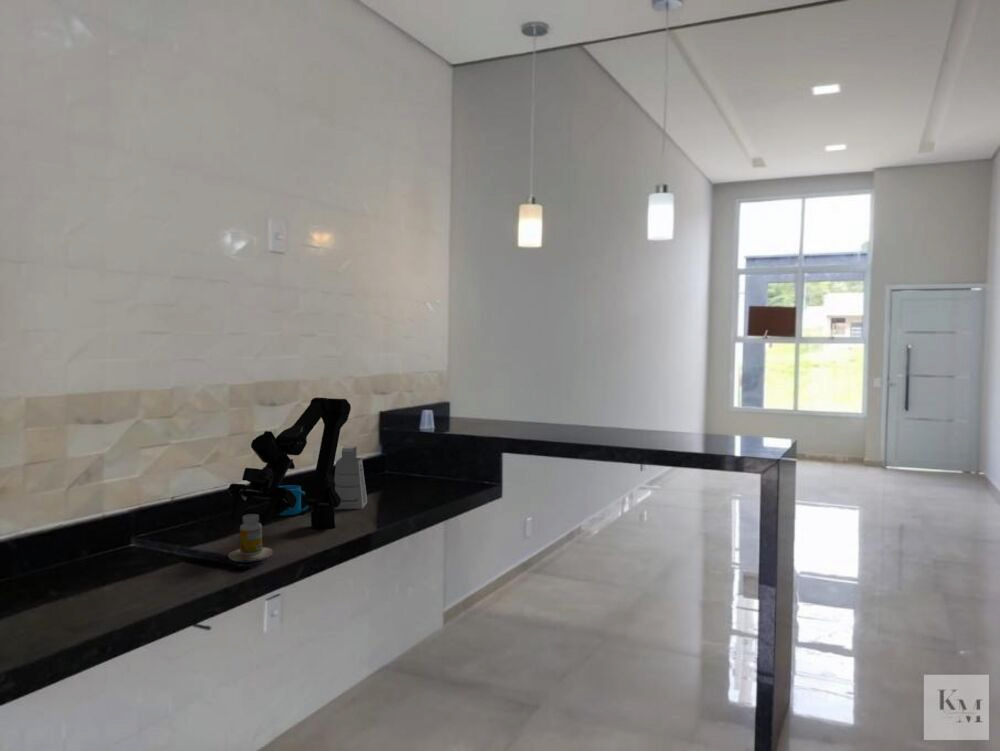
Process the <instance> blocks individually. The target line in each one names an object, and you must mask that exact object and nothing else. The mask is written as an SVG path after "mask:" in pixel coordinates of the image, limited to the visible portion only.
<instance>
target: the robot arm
mask: <svg viewBox="0 0 1000 751" xmlns="http://www.w3.org/2000/svg"><path fill="white" fill-rule="evenodd" d="M351 409H352V407H351V403H350V402H349V400H347V399H346V398H329V397H328V398H327V397H314V398H312V399H310V404H309V405H308V406H307V408H306V409H305V410H304V411H303V413H302V414H301V415H300V416H299V417H298V418H297V420H296V421H295V423H294V424H293V425H291V427H288V428H286V429H284V430H282V431H281V432H280V433H279V434H278V435H277V436H276V437H275V434H274V432H272V431H269V430H268V431H267V430H264V432H263V433H262V434H259V435H258V436H256V437H255V438H254V439H253V440H252V441H251V444H250V447H251V449H252V451H253V452H254V453H255V455H256V456H257V457H258V458H259V459H260V461H261V462H263V463H264V464H266V465H265V466H264V467H262V468H254V467H253V468H252V467H244V472H243V474H242V478H241V480H242V481H246V482H248V483H249V486H250V487H251V488H253V489H249V488H248V486H247V485H245V484H244V483H233V482H232V483H230V485H229V486H228V488H227V489H226V492H227V494H229V496H230V497H231V498H232V499H233V502H232V503H233V504H232V511H231V512H232V513H231V518H230V519H231V522H232V523H235V522H236V521H237V520H238V519H239V518H240V517H241V516H242V514H243V513H244V512H245V511H246V509H248V508H249V506H250V504H249V503H250V502H251V500H252V498H253V499H264V500H269V504H268V506H267V508H266V510H265V512H264V514H263V516H262V518H261V521H260V524H261V525H262V526H265V525H267V523H269V522H271V520H273V519H274V518H276V517H277V516H280V515H279V514H280V513H282V512H283V511H285V510H288V509H289V508H294V506H295V504H296V502H297V499H296V497H295V495H294V494H293V493H292V492H291V490H290V489H289V488H282V487H279V486H285V482H284V481H283V480H284V478H285V476H286V474H287V472H288V470H295V468H296V467H295V464H294V459H293V458H290V457H289V456H300V455H301V454H302V453H303V451H304V449H305V447H306V445H307V443H308V441H307V440H308V439H307V437H308V436H309V435H310V433H311V431H312V430H313V429H314V428H315V426H316V425H317V424H318V423H319V422H320V419H322V422H323V432H322V436H321V442H320V447H319V451H318V455H317V463H316V467H315V471H314V473H313V474H312V475H308V476H307V478H306V484H305V486H304V492H305V495H304V497H305V500H306V505H308V506H309V507H312V509H311V512H310V525H311V526H312V529H313V530H314V529H319V530H320V529H334V528H336V521H335V520H336V519H335V518H336V517H335V511H336V509H335V507H338V506H339V505H340V501H341V498H340V496H339V495H338V494H337V492H336V491H335V481H334V477H333V470H334V465H335V462H336V460H335V459H336V455H337V451H338V450H337V449H338V444H339V439H340V434H341V433H340V432H341V429H342V427H343V426H344V425H345V424H346V422H347V421H348V419H349V417H350V413H351Z"/></svg>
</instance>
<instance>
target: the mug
mask: <svg viewBox="0 0 1000 751" xmlns="http://www.w3.org/2000/svg"><path fill="white" fill-rule="evenodd" d="M279 487H282V488H289V489H290V490H291V492H292V493H293V494H294V495H295V497H296V499H297V502H296V504H295V506H294V508H289V509H288V510H285V511H283V512H282V513H280V514H279V515H278V516H292V515H293V516H294V515H298V514H301V513H302V512H304V511H306V510H307V509H309V507H310V506H308V505H307V504H306V505H305V506H304V507H303V508H302V495H303V496H305V490H304V491H303V490H302V486H300V485H291V484H289V485H283V486H279Z"/></svg>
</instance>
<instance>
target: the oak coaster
mask: <svg viewBox="0 0 1000 751" xmlns="http://www.w3.org/2000/svg"><path fill="white" fill-rule="evenodd" d="M272 554H273V555H274V549H272V548H270V547H265V546H262V552H261V553H259V554H255V555H243V554H241V552H240V548H237V549H235V550H232V551H230V552H229V553H228V555H227V558H228V557H229V558H230V559H232V560H234V561H240V560H256V559H262V558H265V557H269V556H270V555H272Z"/></svg>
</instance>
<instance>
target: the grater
mask: <svg viewBox="0 0 1000 751" xmlns="http://www.w3.org/2000/svg"><path fill="white" fill-rule="evenodd" d="M363 464H364V462H363V458H362V457H357V446H356V445H344V446H343V447H342V448H341V457H340V458H338V459H337V460H335V470H334V477H333V479H334V481H335V491H336V492H337V494H338V495H339V496H340V498H341V501H340V505H339V506H338V507H335V510H363V509H364V508H365V506H366V505H367V503H368V496H367V488H366V481H365V473H364V465H363Z"/></svg>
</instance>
